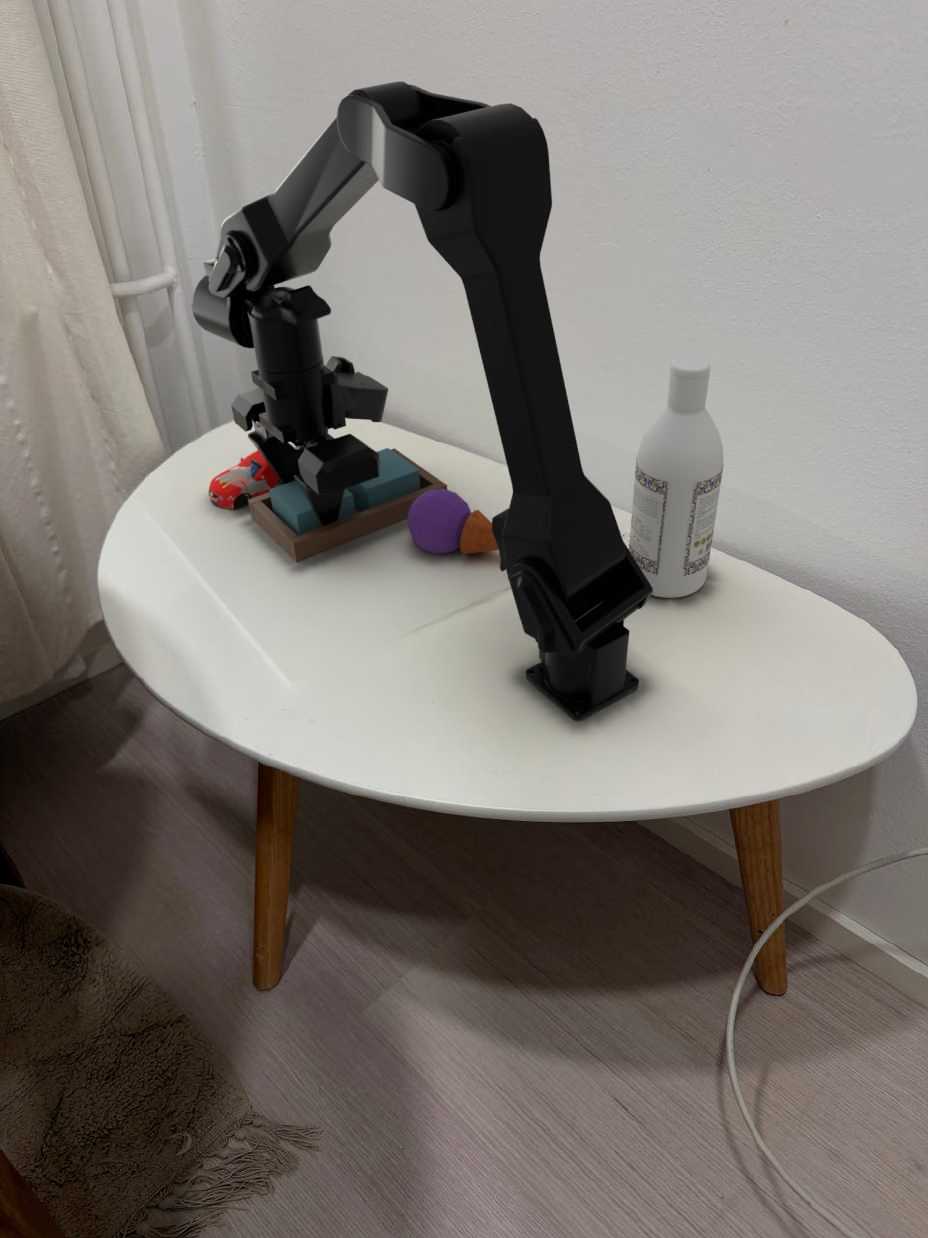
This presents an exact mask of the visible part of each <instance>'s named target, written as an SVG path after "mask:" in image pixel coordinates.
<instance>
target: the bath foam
mask: <svg viewBox="0 0 928 1238" xmlns="http://www.w3.org/2000/svg"><path fill="white" fill-rule="evenodd" d="M669 371H670V372H669V381H668V391H667V403H666V405H665V407H663V408H662V409H661V411H660V412H659V413H658V414H657V416H656V417H655V418H654V419H653V420H652V421H651V423H650V424H649V426H648V427H647V428H646V430H645V432H644V434H643V436H642V438H641V440H640V443H639V446H638V450H637V454H636V459H635V470H634V484H633V493H632V494H633V495H632V507H631V517H630V518H631V519H630V528H629V529H630V531H629V540H628V541H629V542H628V543H629V544H628V549H629V551H630V552H631V554H632V556H633V557H634V559H635V561H636V562H637V564H638V565H639V567H640V569H641V570H642V572H643V573H644V575H645V577H646V578H647V580H648V581H649V583H650V585H651V586H652V588H653V592H652V594H651V596H654V597H659V598H665V599H666V598H667V599H672V598H673V599H674V598H675V599H676V598H682V597H686V596H689V595H692V594H694V593H696V592H697V591H698V590H700V589H702V587H703V585H704V584H705V582H706V580H707V576H708V570H709V563H710V557H711V551H712V545H713V538H714V531H715V525H716V524H715V523H716V518H717V511H718V505H719V498H720V492H721V486H722V477H723V471H724V460H725V459H724V456H725V455H724V446H723V442H722V437H721V435H720V431H719V430H718V428H717V426H716V424H715V422H714V420H713V419H712V417H711V415H710V413H709V411H708V410H707V408H706V403H707V397H708V388H709V381H710V375H711V374H710V373H711V362H710V361H709V360H708V359H706V358H705V357H701V356H697V355H683V356H679V357H676V358H674V359H673V360H672V361H671V364H670V370H669Z"/></svg>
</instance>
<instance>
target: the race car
mask: <svg viewBox="0 0 928 1238" xmlns="http://www.w3.org/2000/svg"><path fill="white" fill-rule="evenodd" d="M305 449H306V448H304V451H305ZM281 485H283V484H282V483H281V481H280V480H279V478H278V477H277V476H276V474H275V473H274V472H273V470H272V469H271V467H270V466H269V465H268V463H267V462H266V460H265V459H264V458H263V456H262V455H261V454H260V452H259V451H258V449H256V451H253V452H251V453H250V454H249V455H247V456H245V457H240V462H238V464H236V465H233V466H231V467H230V468H228V469H226V470H224V471H223V472H220V473H219V474H217V475H216V476H214V477H213V478H212V479H211V481H210V483H209V486H208V497H209V500H210V502H211V503H212V504H213V505H215V506H216V507H218V508H221V509H225V510H226V509H227V510H234V509H236V510H239V509H240V508H241V509H242V508H243V507H246V506H249V503H248V500H249V499H252V498H255V497H257V496H260V495H263V494H266V493H269V489H272V488H275V487H278V486H281Z"/></svg>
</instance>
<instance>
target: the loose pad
mask: <svg viewBox="0 0 928 1238" xmlns="http://www.w3.org/2000/svg"><path fill="white" fill-rule="evenodd" d="M269 492H270V497H271V503H272V508H273V513H274V514H275V515H276V516H277V517H278V518H279V519H281V520H282V521H283V522H284V523H285V524H286V525H287V526H288V527H289V528H290V529H291V530H292V531H293V532H294V533H295V534H296V535H297V536H299V535H302V534H305V533H307V532H310V531H312V530H315V529H318V528H320V527H323V525H322V523H321V522H320V520H319V518H318V517H317V515H316V513H315V512H314V510H313V508H312V507H311V505H310V503H309V501H308V500H307V498H306V496H305V495H304V493H303V491H302V490H301V488H300V486H299V485H298V483H297V481H296V480H295V481H292V482H289V483H286V484H284V485H281V486H278V487H275V488H272V489H269ZM352 515H355V507H354V499H353V494H352V493H350V492H349V491H348V490H347V489H345V491H344V494H343V499H342V503H341V507H340V511H339V516H338V520H337V521H339V520H341V519H344V518H347V517H349V516H352Z"/></svg>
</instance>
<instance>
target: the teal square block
mask: <svg viewBox="0 0 928 1238" xmlns="http://www.w3.org/2000/svg"><path fill="white" fill-rule="evenodd" d="M376 452H377V453H379V457H380V466H381V474H380V476H379V477H377V478H374V479H371V480H369V481H366V482H363V483H360V484H358V485H355V486H352V487H349V488H347V490H348V491H349V492H350V493H352V494H353V499H354V507H356V508H357V509H358V510H359V511H360V512H362V511H365V510H368V509H370V508H373V507H376V506H378V505H381V504H383V503H386V502H389V501H391V500H394V499H397V498H399V497H402V496H404V495H407V494H410V493H412V492H415V491H418V490H420V477H419V470H418V469H417V468H415V467H414V466H413V465H411V464H410V463H408V462H407V461H406V460H404V459H403V458H401V457H400V456H399V455H397V454H396V453H394V452H393V451H392V450H391V449H390V448H389V447H386V448H383V449H380V450H377V451H376Z"/></svg>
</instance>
